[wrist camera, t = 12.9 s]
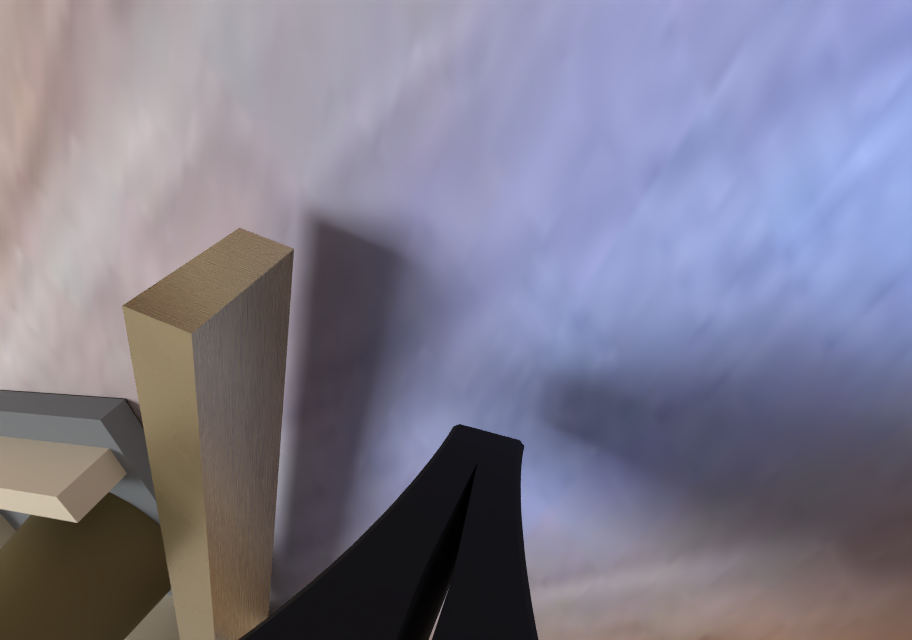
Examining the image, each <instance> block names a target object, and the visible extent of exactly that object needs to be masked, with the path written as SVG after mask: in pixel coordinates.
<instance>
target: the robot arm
mask: <svg viewBox="0 0 912 640" xmlns="http://www.w3.org/2000/svg"><path fill="white" fill-rule="evenodd" d="M523 450H524V445H523V444H522V443H521V441H520V440H517V439H513V438H509V437H506V436H502V435H498V434H494V433H491V432H487V431H483V430H480V429H476V428H472V427H468V426H465V425H461V424H459V425H456V426H454V427H453V428H452V430H451V432H450V433H449V435H448V436H447V438H446V439H445V441H444V442H443V443H442V445H441V446H440V448H439V449H438V450H437V452H436V453H435V454H434V456H433V457H432V458H431V460H430V461H429V462H428V463H427V465H426V466H425V467H424V468H423V470H422V471H421V472H420V473H419V475H418V476H417V477H416V478H415V479H414V480H413V481H412V483H411V484H410V485H409V486H408V487H407V488H406V489H405V491H404V492H403V493H402V494H401V495H400V496H399V497H398V499H397V500H396V501H395V502H394V503H393V504H392V505H391V506H390V507H389V508H388V510H387V511H386V512H385V513H384V514H383V515H382V516H381V517H380V518H379V519H378V520H377V521H376V522H375V523H374V524H373V525H372V526H371V527H370V528H369V529H368V530H367V531H366V532H365V533H364V534H363V535H362V536H361V537H360V538H359V539H358V540H357V541H356V542H355V543H354V544H353V545H352V546H351V547H350V548H349V549H348V550H347V551H345V552H344V553H343V554H342V555H341V556H340V557H339V558H338V559H337V560H336V561H335V562H334V563H332V564H331V565H330V566H329V567H328V568H327V569H326V570H325V571H323V572H322V573H321V574H320V575H319V576H318V577H317V578H315V579H314V580H313V581H312V582H311V583H310V584H308V585H307V586H306V587H305V588H304V589H302V590H301V591H300V592H299V593H297V594H296V595H295V596H294V597H293V598H291V599H290V600H289V601H288V602H286V603H285V604H284V605H283V606H281V607H280V608H279V609H278V610H277V611H275V612H274V613H273V614H271V615H270V616H269V617H268V618H266V619H265V620H264V621H262V622H261V623H260V624H259V625H257V626H256V627H255V628H253V629H252V630H251V631H249V632H248V633H246V634H245V635H244V636H242V637H241V638H239V639H238V640H429V637H430V635H431V632H432V630H433V627H434V624H435V622H436V619H437V617H438V614H439V612H440V609H441V606H442V604H443V601H444V599H445V596H446V594H447V596H446V599H445V602H444V605H443V608H442V611H441V614H440V617H439V620H438V623H437V626H436V629H435V632H434V635H433V638H432V640H538V636H537V631H536V625H535V620H534V614H533V608H532V602H531V596H530V589H529V582H528V576H527V568H526V560H525V551H524V540H523V529H522V517H521V464H522V455H523ZM449 586H450V587H449ZM448 588H449V590H448ZM447 591H448V593H447Z"/></svg>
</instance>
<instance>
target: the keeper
mask: <svg viewBox="0 0 912 640" xmlns="http://www.w3.org/2000/svg"><path fill="white" fill-rule="evenodd" d="M293 257H294V249H293V248H290V247H288V246H285V245H283V244H280V243H277V242H275V241H272V240H270V239H267V238H264V237H262V236H259V235H257V234H254V233H251V232H249V231H246V230H244V229H241V228H239V229H237V230H236V231H234V232H233V233H231V234H230V235H228V236H227V237H225V238H224V239H222V240H221V241H219V242H218V243H216V244H215V245H213V246H212V247H210V248H209V249H207V250H206V251H204V252H203V253H201V254H200V255H198V256H197V257H195V258H193V259H192V260H190V261H189V262H187V263H186V264H184V265H183V266H181V267H180V268H178V269H177V270H175V271H174V272H172V273H171V274H169V275H168V276H166V277H165V278H163V279H162V280H160V281H159V282H157V283H156V284H154V285H153V286H151V287H150V288H148V289H147V290H145V291H144V292H142V293H141V294H139V295H138V296H136V297H135V298H133V299H132V300H130V301H129V302H127V303H126V304H124V305H123V312H124V318H125V324H126V329H127V335H128V341H129V347H130V353H131V358H132V364H133V370H134V376H135V382H136V387H137V393H138V399H139V405H140V411H141V416H142V422H143V428H144V434H145V439H146V445H147V451H148V457H149V463H150V468H151V474H152V480H153V486H154V492H155V497H156V503H157V509H158V515H159V520H160V526H161V532H162V538H163V544H164V549H165V555H166V561H167V567H168V573H169V578H170V584H171V590H172V596H173V602H174V607H175V613H176V619H177V625H178V630H179V636H180V640H238V639H239V638H241V637H242V636H244V635H245V634H246V633H248V632H249V631H251V630H252V629H253V628H255V627H256V626H257V625H259V624H260V623H261V622H262V621H264V620H265V619H266V618H268V614H269V600H270V585H271V571H272V557H273V542H274V528H275V514H276V500H277V485H278V471H279V457H280V442H281V428H282V414H283V400H284V385H285V371H286V357H287V342H288V328H289V314H290V300H291V285H292V271H293Z"/></svg>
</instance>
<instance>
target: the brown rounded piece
mask: <svg viewBox="0 0 912 640" xmlns="http://www.w3.org/2000/svg"><path fill="white" fill-rule="evenodd" d="M170 590H171V584H170V578H169V573H168V567H167V561H166V555H165V549H164V544H163V538H162V532H161V527H160V526H159V525H158V524H157V523H156V522H155V521H154V520H153V519H151V518H150V517H149V516H147V515H146V514H145V513H143V512H142V511H141V510H139V509H138V508H137V507H135V506H134V505H132V504H130V503H128V502H127V501H125V500H123V499H121V498H119V497H118V496H116V495H114V494H112V493H110V492H108V493H107V494H106V495H105V496H104V497H103V498H102V499H101V500H100V501H99V502H98V503H97V504H96V505H95V506H94V507H93V508H92V509H91V510H90V511H89V512H88V513H87V514H86V515H85V516H84V517H83V518H82V519H81V520H80V521H79V522H78V523H75V522H70V521H64V520H59V519H53V518H48V517H42V516H37V515H30V516H29V517H28V518H27V519H26V521H25V522H24V523H23V524H22V525H21V526H20V527H19V529H18V530H17V531H16V532H15V533H14V534H13V535H12V536H11V538H10V539H9V540H8V541H7V542H6V543H5V544H4V545H3V547H2V548H1V549H0V640H124V639H125V638H126V637H127V636H128V635H129V634H130V633H131V632H132V631H133V630H134V629H135V628H136V626H137V625H138V624H139V623H140V622H141V621H142V620H143V619H144V618H145V617H146V616H147V615H148V614H149V613H150V611H151V610H152V609H153V608H154V607H155V606H156V605H157V604H158V603H159V602H160V601H161V600H162V599H163V598H164V597H165V595H166V594H167V593H168V592H169V591H170Z"/></svg>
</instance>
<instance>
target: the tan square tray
mask: <svg viewBox="0 0 912 640" xmlns="http://www.w3.org/2000/svg"><path fill="white" fill-rule="evenodd" d="M108 492H110V493H112V494H114V495H116V496H118V497H119V498H121V499H123V500H125V501H127V502H128V503H130V504H132V505H134V506H135V507H137V508H138V509H139V510H141V511H142V512H143V513H145V514H146V515H147V516H149V517H150V518H151V519H153V520H154V521H155V522H156V523H157V524H158V525H159V526H160V520H159V515H158V509H157V503H156V497H155V492H154V486H153V480H152V474H151V468H150V463H149V457H148V451H147V445H146V439H145V434H144V429H143V427H142V426H141V424H140V422H139V421H138V419H137V418H136V416H135V415H134V413H133V411H132V410H131V408H130V407H129V405H128V404H127V402H126V400H125V399H115V398H101V397H87V396H73V395H58V394H44V393H30V392H16V391H2V390H0V549H1V548H2V547H3V545H4V544H5V543H6V542H7V541H8V540H9V539H10V538H11V536H12V535H13V534H14V533H15V532H16V531H17V530H18V529H19V527H20V526H21V525H22V524H23V523H24V522H25V521H26V519H27V518H28V517H29V516H30V515H37V516H42V517H48V518H53V519H59V520H64V521H70V522H75V523H78V522H79V521H80V520H81V519H82V518H83V517H84V516H85V515H86V514H87V513H88V512H89V511H90V510H91V509H92V508H93V507H94V506H95V505H96V504H97V503H98V502H99V501H100V500H101V499H102V498H103V497H104V496H105V495H106V494H107V493H108ZM160 527H161V526H160ZM124 640H180V636H179V630H178V625H177V619H176V613H175V607H174V602H173V596H172V590H170V591H169V592H168V593H167V594H166V595H165V597H164V598H163V599H162V600H161V601H160V602H159V603H158V604H157V605H156V606H155V607H154V608H153V609H152V610H151V611H150V613H149V614H148V615H147V616H146V617H145V618H144V619H143V620H142V621H141V622H140V623H139V624H138V625H137V626H136V628H135V629H134V630H133V631H132V632H131V633H130V634H129V635H128V636H127V637H126V638H125V639H124Z"/></svg>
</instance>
